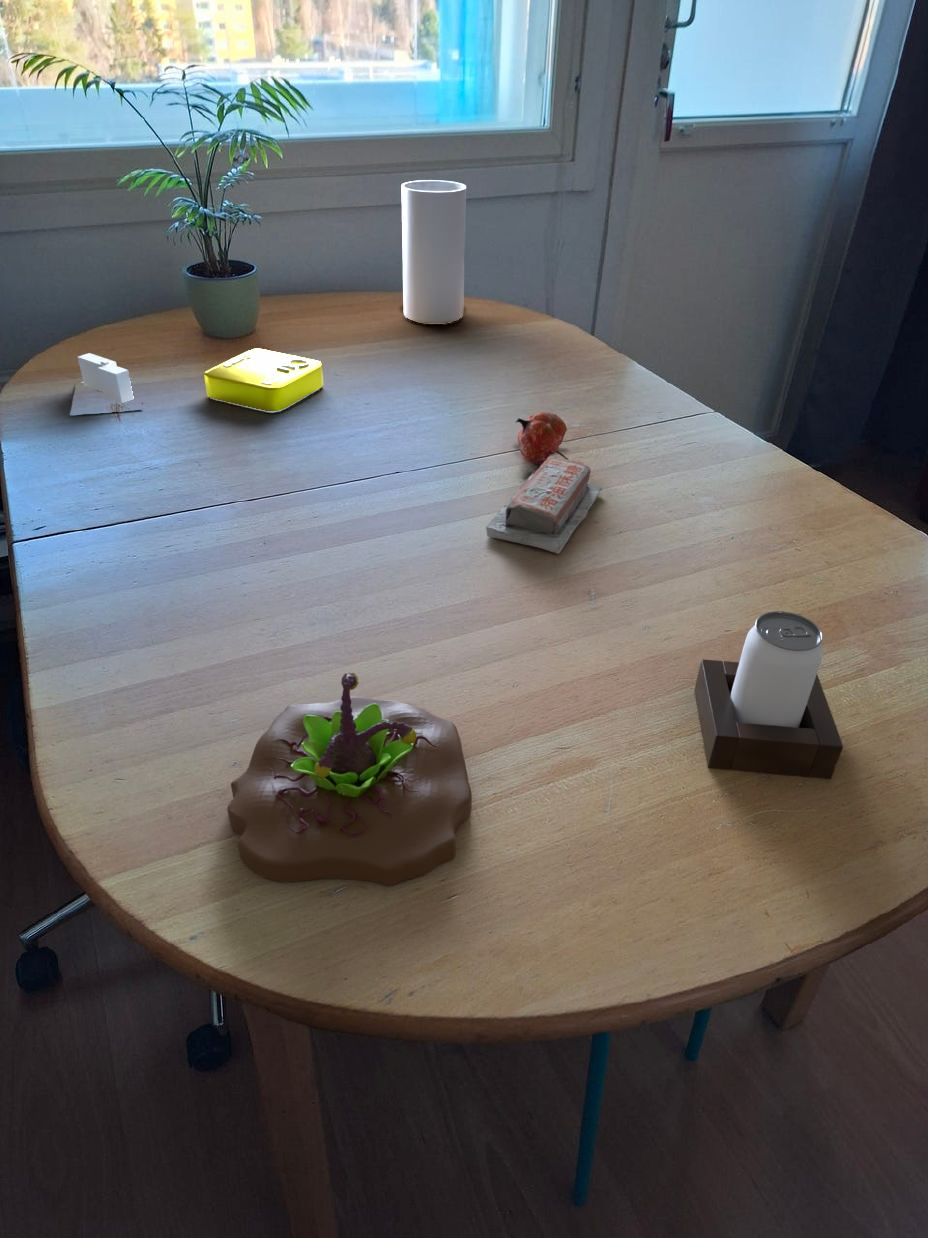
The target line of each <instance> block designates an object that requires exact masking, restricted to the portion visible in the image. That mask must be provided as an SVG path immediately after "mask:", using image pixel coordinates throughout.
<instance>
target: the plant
mask: <svg viewBox="0 0 928 1238" xmlns="http://www.w3.org/2000/svg"><path fill="white" fill-rule="evenodd" d="M340 683H341V686H342V692H341V693H342V695H341V698H340V699H336V700H333V701H328V702H313V703H311V702H310V703H303V704H289V705H287V707H286V708H285V709H284V710H283V711H282V712H281V713H280V714H279V715H277V716H276V718H275V719H273V722H272V723H271V725H270V726H269V728H268V729H267V730H266V731H265V732H264V733H263V734H262V735H261V736H260V738H259V739H258V740H257V742H256V744H255V746H254V749H253V753H252V755H251V758H250V762H249V764H248V767H247V769H246V770H245V771H244V772H243V773H242V774H241V775H240V776H239V777H237V778H236V779H234V780H233V781H231V782H230V788H231V794H232V798H233V799H232V800H231V801H230V802H229V804H228V806H227V813H228V819H229V824H230V828H231V830H232V831H233V832H234V833H236V834H237V835H239V836H240V837H239V839H238V840H237V850H238V853H239V854H238V855H239V859H240V860H241V861H242V862H243V863H244V864H245V866H246V867H248V868H249V869H250V870H252V871H253V872H255V873H256V874H257V875H259V876H260V877H263V878H264V879H265V878H266V879H267V880H270V881H274V882H285V883H286V882H287V883H288V882H289V883H291V882H303V881H311V880H318V879H345V880H346V879H347V880H362V881H370V882H374V883H377V884H380V885H384V886H394V885H397V884H398V883H400V882H402V881H405V880H410V879H415V878H418V877H421V876H423V875H426V874H428V873H429V872H430V871H432V870H433V869H434V868H437V867H438V866H439V865H441V864H444V863H446V862H449V861H452V860H453V859H455V858H456V855H457V837H456V835H455V834H456V832H457V830H458V829H459V827H460V826H461V825H462V824H463V823H464V822H465V821H466V820H468V818H470V816H471V812H472V803H473V800H472V799H473V798H472V796H473V795H472V789H471V786H470V782H469V775H468V770H467V765H466V760H465V756H464V752H463V745H462V741H461V737H460V734H459V732H458V728H457V726H456V725H455V723H453V722H452V721H448V720H446V719H444V718H441V717H439V716H436V715H435V714H433V713H430V712H428V711H425V710H423V709H421V708H420V707H418V706H416V705H412V704H410V703H406V702H401V701H397V700H393V699H381V698H374V697H363V696H351V691H353V690H355V689H356V688H357V687H358V685H359V677H358V675H357V674H356V673H355V672H345V673H344V674H343V675H342V677H341V681H340Z"/></svg>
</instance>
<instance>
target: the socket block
mask: <svg viewBox="0 0 928 1238" xmlns="http://www.w3.org/2000/svg"><path fill="white" fill-rule="evenodd" d="M739 662H740V661H727V660H717V659H704V658H702V659H701V660H700V664H699V668H698V672H697V677H696V681H695V686H694V695H695V697H694V698H695V702H696V708H697V714H698V719H699V725H700V730H701V738H702V743H703V749H704V754H705V760H706V766H707V768H708V769H713V770H714V769H715V770H724V771H725V770H726V771H735V772H736V771H737V772H747V773H757V774H759V773H760V774H767V775H768V774H770V775H778V776H779V775H781V776H790V777H791V776H792V777H803V778H817V779H826V780H828V779H829V780H831V779H832V777H833V774H834V772H835V769H836V767H837V764H838V762H839V759H840V756H841V754H842V751H843V749H844V745H843V742H842V739H841V737H840V733H839V731H838V728H837V726H836V721H835V720H834V717H833V715H832V711H831V709H830V706H829V702H828V701H827V698H826V697H827V696H826V695H825V692H824V689H823V686H822V683H821V681H820V677H819V675H818V674H817V675H816V678H815V681H814V684H813V687H812V690H811V693H810V696H809V699H808V702H807V705H806V708H805V711H804V714H803V716H802V719H801V722H800V725H799V728H796V727H784V726H773V725H761V724H749V723H738V722H737V723H736V721H735V716H734V712H733V707H732V703H731V698H730V695H731V692H732V688H733V684H734V680H735V677H736V673H737V669H738V665H739Z"/></svg>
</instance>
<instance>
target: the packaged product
mask: <svg viewBox="0 0 928 1238" xmlns="http://www.w3.org/2000/svg"><path fill="white" fill-rule="evenodd" d="M568 459H569V458H568ZM568 459H565V458H564V457H556V456H549V457H548V459H547V460H546V461H545V462H544V463H542V464H540V465H539V468H537V469H536V471H533V472H532V473H531V475H530V476H529V477H528V478H527V479H526V481H525V482H524V483H523V484H522V485H521V487H519V489H518V490H517V491H516V492H515V493H514V494H513V495H512V497H511V498H510V499H509V500H508V501H506V504H504V506H503V507H502V508H501V509H500V510H499V511H498V513H497V514H496V515H495V516H494V517H493V518H492V519H491V521H490V522H489V523H488V524H487V525H486V526H485V530H486V531H485V532H486V536H487V537H489V538H493V539H496V540H497V539H498V540H503V541H508V542H511V543H517V544H520V545H525V546H530V547H535V548H539V549H543V550H546V551H549V552H551V553H554V554H558V555H559V554H560V553H561V551H562V550H563V548H564V547H565V546H566V544H567V542H568V541H569V540H570V537H572V534H573V533H574V531H576V529H577V528H578V526H579V525H580V523H581V522H583V521H584V520H585V519H586V518H587V516H588V512H589V510H590V508H591V507H592V506H593V504H594V502H595V501H596V500H597V498H598V496H599V495H600V493H601V492H602V491H603V487H602V486H597V485H593V484H589V480H590V477H591V471H592V469H591V467H589V466H588V465H587V464H585V463H584V462H582V461H576V460H572V459H571V460H570V459H569V460H568Z"/></svg>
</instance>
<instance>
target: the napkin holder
mask: <svg viewBox="0 0 928 1238" xmlns="http://www.w3.org/2000/svg"><path fill="white" fill-rule="evenodd" d="M77 361H78V366H79V369H80V374H81V378H82V383H84V385H85V386H88V387H91V388H94V389H96V390H99V391H102V392H103V394H104V397H107V398H109V399H112V400H115V401H117V402H120V403H124V402H127V401H130V400H133V399H134V396H133V391H132V386H131V381H130V379H131V376H130V373H129V371H130V370H129V369H126V368H124V367H120V366H118V365H117V361H115V360H112V359H109V358H105V357H102V356H100V355H96V354H93V353H90V352H89V353H85V354H82V355H78V356H77Z"/></svg>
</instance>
